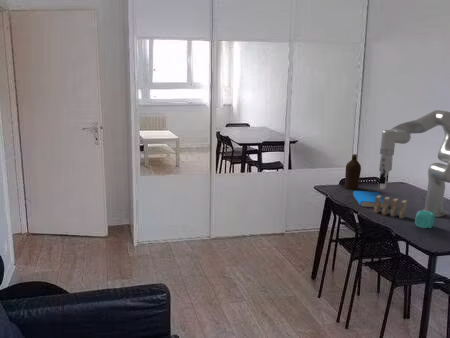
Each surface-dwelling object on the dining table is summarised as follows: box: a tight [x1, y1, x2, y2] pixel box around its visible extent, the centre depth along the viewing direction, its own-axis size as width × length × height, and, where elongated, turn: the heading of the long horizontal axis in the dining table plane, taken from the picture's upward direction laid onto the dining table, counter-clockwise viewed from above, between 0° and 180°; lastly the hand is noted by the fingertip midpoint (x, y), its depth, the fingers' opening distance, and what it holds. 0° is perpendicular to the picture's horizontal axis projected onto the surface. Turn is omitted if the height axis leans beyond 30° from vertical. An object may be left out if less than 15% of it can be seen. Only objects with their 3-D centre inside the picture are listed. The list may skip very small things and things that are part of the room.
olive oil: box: [344, 153, 362, 191], centre depth 335 cm, size 11×11×25 cm
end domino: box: [379, 171, 387, 190], centre depth 270 cm, size 2×5×10 cm, turn 146°
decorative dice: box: [414, 210, 435, 229], centre depth 262 cm, size 8×8×8 cm
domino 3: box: [390, 197, 399, 217], centre depth 278 cm, size 2×5×10 cm, turn 145°
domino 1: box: [373, 194, 382, 214], centre depth 284 cm, size 2×5×10 cm, turn 145°
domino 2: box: [381, 196, 391, 216], centre depth 281 cm, size 2×5×10 cm, turn 145°
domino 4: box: [398, 199, 408, 220], centre depth 276 cm, size 2×5×10 cm, turn 145°
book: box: [352, 190, 385, 209], centre depth 306 cm, size 17×4×25 cm
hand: (383, 182), depth 270 cm, fingers closed on end domino, 4 cm apart
